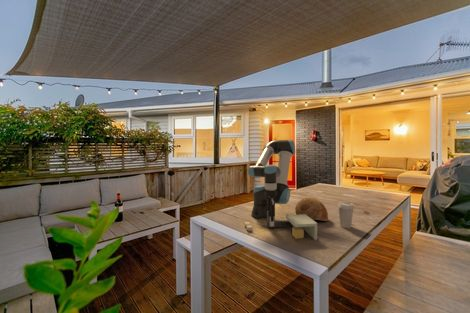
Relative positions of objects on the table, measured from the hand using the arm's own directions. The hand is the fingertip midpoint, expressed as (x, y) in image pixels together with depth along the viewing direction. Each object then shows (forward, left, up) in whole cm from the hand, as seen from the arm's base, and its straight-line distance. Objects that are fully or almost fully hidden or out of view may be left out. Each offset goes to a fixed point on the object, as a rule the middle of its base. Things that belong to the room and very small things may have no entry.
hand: (270, 224), depth 147 cm
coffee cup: (+5, +48, -2) cm, 49 cm away
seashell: (-12, +32, -2) cm, 35 cm away
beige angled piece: (+13, +15, -2) cm, 20 cm away
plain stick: (-1, -15, -2) cm, 15 cm away
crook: (+3, +7, -1) cm, 8 cm away
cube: (+15, +12, -2) cm, 20 cm away
